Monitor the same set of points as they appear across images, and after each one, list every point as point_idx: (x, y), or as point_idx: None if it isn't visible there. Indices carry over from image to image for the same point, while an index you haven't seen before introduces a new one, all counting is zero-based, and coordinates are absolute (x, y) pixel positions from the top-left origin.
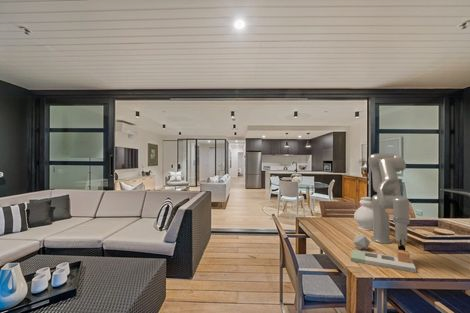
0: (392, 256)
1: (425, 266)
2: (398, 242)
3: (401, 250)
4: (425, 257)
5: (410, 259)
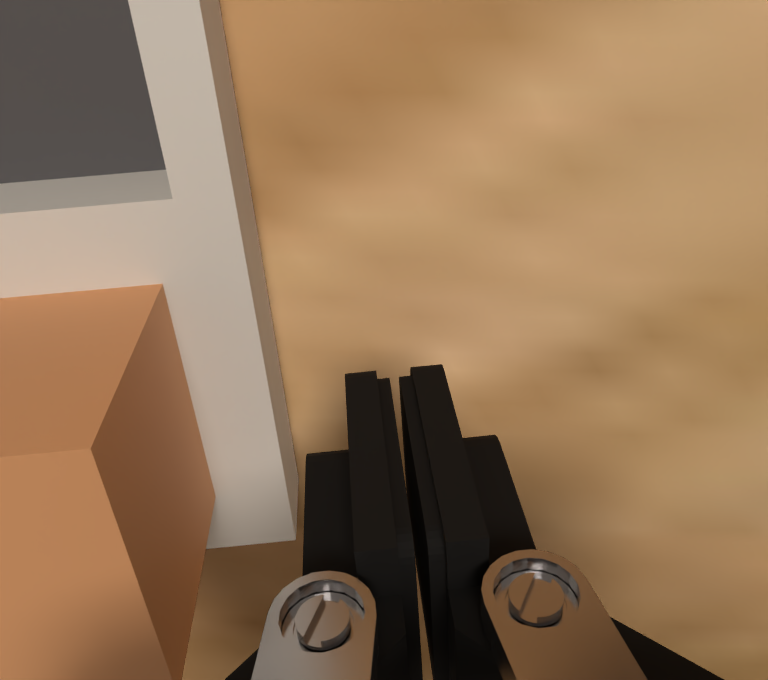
0: (180, 161)
1: (252, 636)
2: (543, 652)
3: (79, 565)
4: (729, 641)
5: (246, 529)
